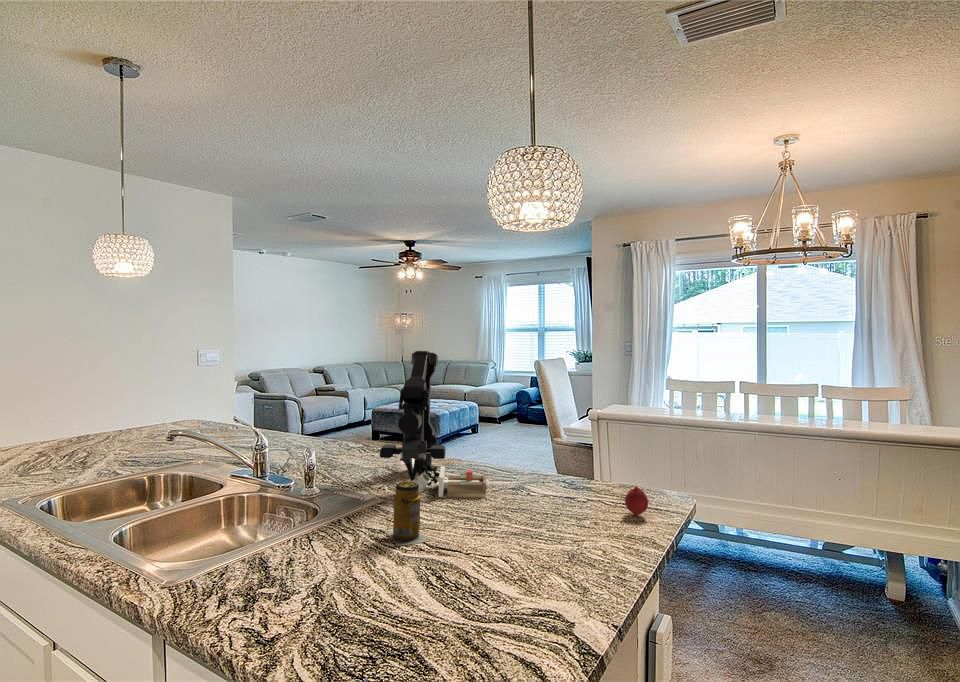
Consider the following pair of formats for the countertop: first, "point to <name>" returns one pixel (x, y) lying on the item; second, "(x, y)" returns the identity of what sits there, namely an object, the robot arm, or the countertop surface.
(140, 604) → the countertop surface
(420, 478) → the valve
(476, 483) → the gauge housing
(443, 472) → the white t-shaped slider
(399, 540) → the condiment
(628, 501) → the onion
